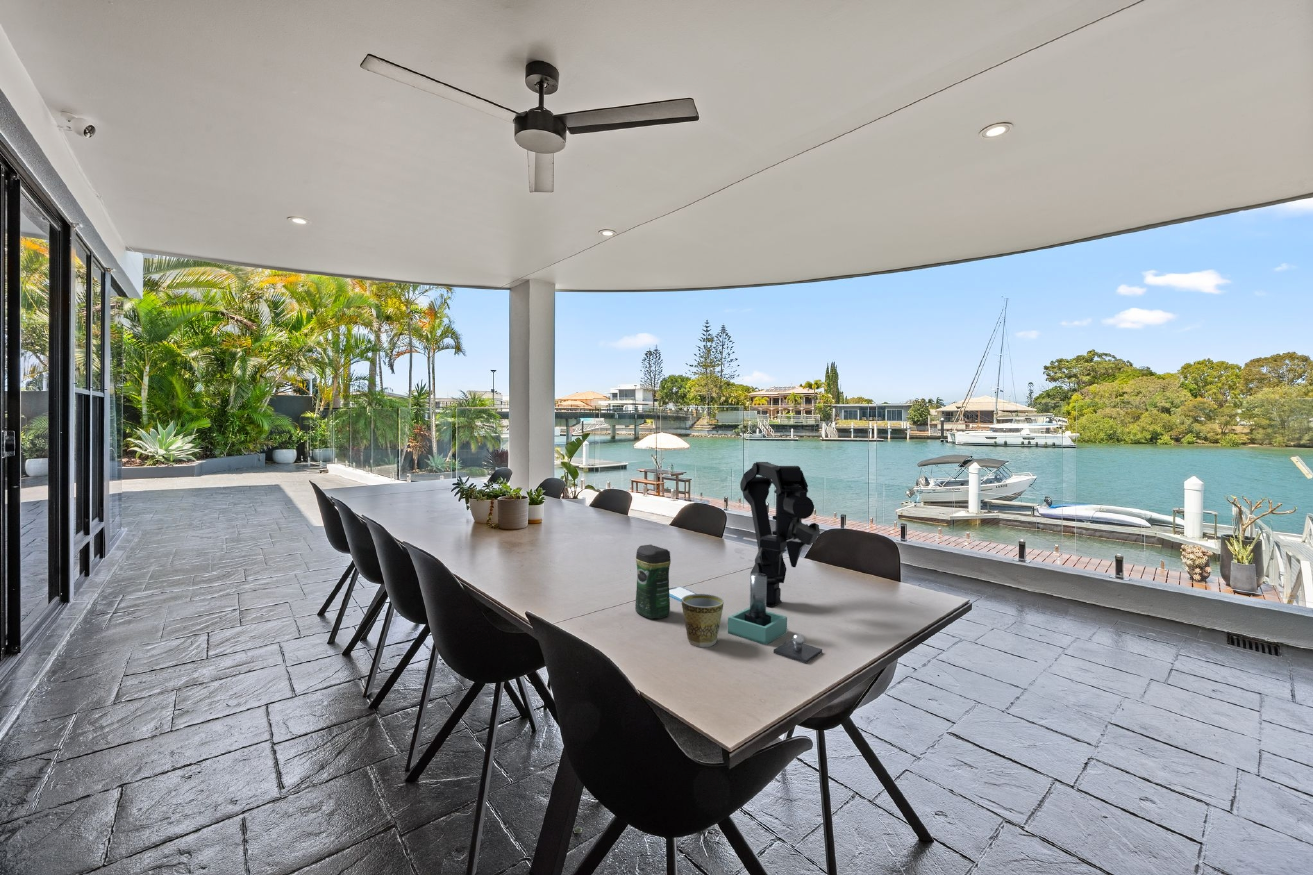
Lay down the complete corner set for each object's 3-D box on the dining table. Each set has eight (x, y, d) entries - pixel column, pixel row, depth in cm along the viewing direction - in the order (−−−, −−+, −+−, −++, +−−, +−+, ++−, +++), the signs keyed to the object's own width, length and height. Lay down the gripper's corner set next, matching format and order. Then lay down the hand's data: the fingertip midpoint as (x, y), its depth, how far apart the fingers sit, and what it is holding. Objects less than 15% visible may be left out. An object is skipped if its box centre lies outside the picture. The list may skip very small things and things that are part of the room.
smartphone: (691, 605, 154) (661, 590, 166) (691, 609, 154) (660, 593, 166) (711, 600, 158) (680, 586, 171) (711, 604, 158) (680, 589, 171)
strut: (744, 628, 136) (745, 574, 135) (758, 625, 138) (759, 571, 138) (756, 635, 132) (757, 578, 132) (770, 631, 134) (771, 576, 134)
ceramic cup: (728, 649, 125) (728, 606, 125) (685, 651, 123) (686, 607, 123) (713, 628, 138) (713, 589, 138) (674, 629, 136) (675, 590, 136)
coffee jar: (674, 616, 146) (675, 547, 146) (651, 622, 141) (652, 551, 141) (653, 606, 154) (654, 541, 153) (630, 611, 149) (631, 544, 149)
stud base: (773, 653, 123) (773, 634, 123) (790, 642, 129) (790, 624, 129) (806, 663, 118) (806, 644, 118) (822, 652, 124) (822, 633, 124)
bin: (727, 633, 135) (727, 617, 134) (750, 621, 142) (750, 606, 142) (765, 645, 128) (765, 628, 127) (786, 632, 135) (787, 616, 135)
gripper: (798, 520, 132) (796, 583, 133) (830, 512, 146) (829, 569, 147) (758, 515, 140) (757, 575, 140) (792, 507, 154) (791, 562, 154)
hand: (785, 570), depth 145 cm, fingers open, 9 cm apart
